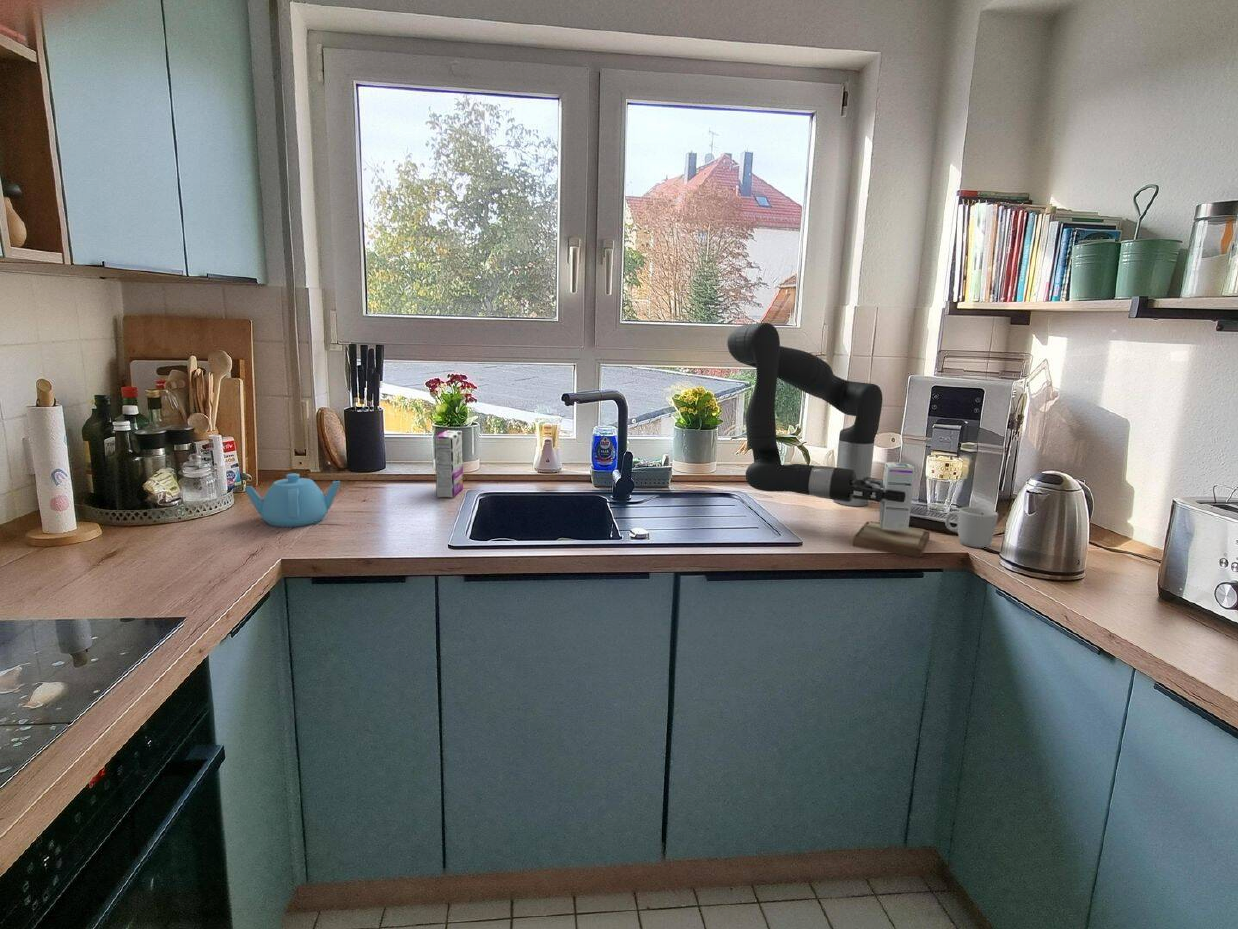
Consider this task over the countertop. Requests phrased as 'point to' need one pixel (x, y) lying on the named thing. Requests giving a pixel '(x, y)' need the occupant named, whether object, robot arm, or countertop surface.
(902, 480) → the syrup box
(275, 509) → the teapot
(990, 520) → the cup
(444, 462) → the candy bar box
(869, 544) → the riser
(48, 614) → the countertop surface
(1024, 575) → the countertop surface
